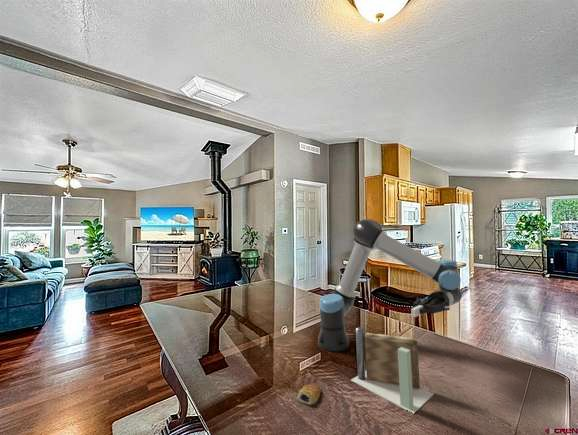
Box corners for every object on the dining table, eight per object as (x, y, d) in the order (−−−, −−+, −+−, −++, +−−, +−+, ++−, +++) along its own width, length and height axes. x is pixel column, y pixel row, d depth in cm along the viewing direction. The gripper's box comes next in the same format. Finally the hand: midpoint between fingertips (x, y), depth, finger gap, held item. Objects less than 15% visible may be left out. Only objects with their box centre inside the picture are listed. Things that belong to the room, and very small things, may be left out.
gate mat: (350, 380, 100) (350, 379, 100) (372, 367, 109) (372, 366, 109) (413, 414, 81) (413, 413, 81) (433, 394, 90) (433, 393, 90)
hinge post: (356, 378, 101) (354, 328, 102) (360, 375, 103) (358, 326, 103) (362, 381, 99) (360, 330, 100) (367, 378, 101) (364, 328, 101)
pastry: (308, 386, 98) (308, 376, 98) (325, 392, 94) (325, 381, 94) (295, 401, 90) (295, 390, 90) (313, 408, 86) (313, 396, 86)
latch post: (400, 406, 85) (397, 349, 86) (404, 402, 86) (401, 347, 87) (409, 410, 83) (406, 352, 83) (413, 407, 84) (410, 350, 85)
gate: (366, 378, 99) (364, 334, 100) (367, 376, 101) (365, 332, 101) (420, 388, 92) (417, 340, 93) (419, 386, 94) (417, 338, 94)
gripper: (457, 312, 107) (432, 328, 93) (425, 305, 117) (397, 319, 103) (456, 293, 108) (430, 306, 93) (424, 288, 118) (396, 299, 103)
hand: (413, 313), depth 98 cm, fingers closed
